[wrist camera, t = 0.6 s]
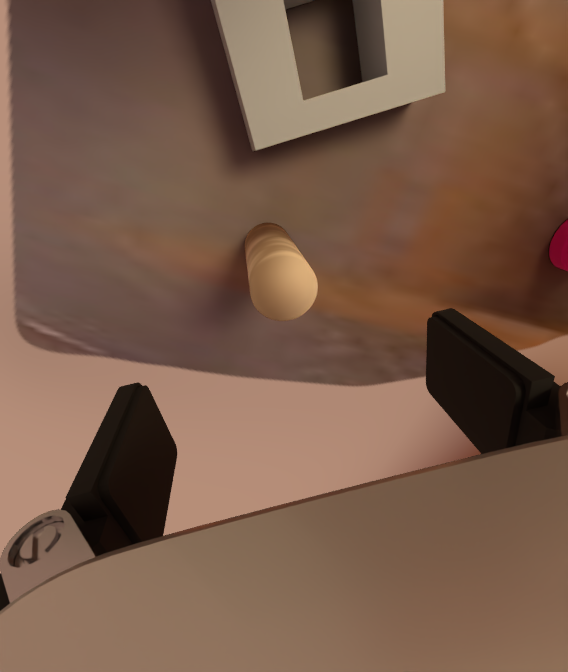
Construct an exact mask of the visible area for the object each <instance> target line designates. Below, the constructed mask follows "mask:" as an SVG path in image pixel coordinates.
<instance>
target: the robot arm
mask: <svg viewBox="0 0 568 672" xmlns="http://www.w3.org/2000/svg"><path fill="white" fill-rule="evenodd" d="M554 377H555V376H554V375H552V374H551V373H549V372H548V371H546V370H545V369H543V368H542V367H540V366H538V365H537V364H536V363H534V362H533V361H531V360H530V359H528V358H526V357H525V356H524V355H522V354H521V353H519V352H518V351H516V350H515V349H513V348H512V347H510V346H509V345H507V344H506V343H504V342H503V341H501V340H500V339H498V338H497V337H495V336H494V335H492V334H491V333H489V332H488V331H486V330H485V329H483V328H482V327H480V326H479V325H477V324H476V323H474V322H473V321H471V320H470V319H468V318H467V317H465V316H464V315H462V314H461V313H459V312H458V311H456V310H455V309H452V308H450V309H446V310H442V311H437V312H434V313H433V314H432V317H431V318H429V319H428V322H427V359H426V386H427V389H428V391H429V393H430V394H431V395H432V396H433V398H434V399H435V400H436V401H437V402H438V403H439V405H440V406H441V407H442V408H443V409H444V410H445V412H446V413H447V414H448V415H449V416H450V417H451V419H452V420H453V421H454V422H455V423H456V425H457V426H458V427H459V428H460V429H461V430H462V431H463V432H464V434H465V435H466V436H467V437H468V438H469V440H470V441H471V442H472V443H473V444H474V446H475V447H476V448H477V449H478V450H479V451H480V452H481V454H480V455H476V456H472V457H468V458H464V459H460V460H456V461H452V462H448V463H444V464H440V465H436V466H432V467H428V468H424V469H420V470H416V471H412V472H408V473H404V474H400V475H395V476H392V477H388V478H384V479H380V480H376V481H372V482H368V483H364V484H360V485H356V486H352V487H348V488H345V489H340V490H336V491H332V492H329V493H325V494H321V495H317V496H313V497H309V498H305V499H302V500H298V501H293V502H290V503H286V504H282V505H278V506H274V507H270V508H266V509H263V510H259V511H255V512H251V513H248V514H243V515H240V516H236V517H232V518H228V519H225V520H220V521H217V522H213V523H209V524H205V525H202V526H197V527H194V528H190V529H187V530H183V531H179V532H176V533H172V534H169V535H165V536H163V533H164V527H165V521H166V516H167V510H168V504H169V498H170V492H171V487H172V482H173V476H174V469H175V465H176V459H177V448H176V444H175V442H174V440H173V438H172V436H171V434H170V432H169V430H168V427H167V425H166V423H165V421H164V419H163V417H162V415H161V413H160V411H159V409H158V407H157V405H156V403H155V400H154V399H153V396H152V394H151V392H150V390H149V388H148V387H147V386H142V385H141V384H140V383H134V384H130V385H125V386H121V387H119V389H118V390H117V393H116V395H115V397H114V399H113V401H112V403H111V405H110V407H109V409H108V411H107V413H106V416H105V417H104V419H103V421H102V423H101V426H100V428H99V430H98V432H97V434H96V436H95V438H94V440H93V442H92V444H91V446H90V448H89V450H88V452H87V455H86V457H85V459H84V461H83V463H82V465H81V467H80V469H79V471H78V473H77V475H76V477H75V479H74V481H73V483H72V486H71V487H70V490H69V492H68V494H67V496H66V500H65V502H64V504H63V506H62V508H61V510H59V509H58V510H53V511H49V512H47V513H44V514H41V515H39V516H38V517H36V518H34V519H33V520H31V521H30V522H28V523H27V524H26V525H25V526H23V527H22V528H21V529H20V530H19V531H18V532H17V533H16V534H15V535H14V536H13V537H12V538H11V540H10V541H9V543H8V544H7V546H6V547H5V549H4V550H3V552H2V555H1V558H0V571H1V574H0V672H568V382H567V383H564V384H563V385H562V386H559V385H558V384H556V383H555V382H554Z"/></svg>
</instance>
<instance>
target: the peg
mask: <svg viewBox="0 0 568 672" xmlns="http://www.w3.org/2000/svg"><path fill="white" fill-rule="evenodd" d="M245 254H246V262H247V270H248V279H249V287H250V295H251V299H252V302H253V304H254V306H255V307H256V309H257V310H258V311H259V312H260V313H261V314H262V315H264V316H265V317H267V318H270V319H272V320H277V321H288V320H292V319H295V318H298V317H299V316H301V315H303V314H304V313H305V312H307V311H308V310H309V308H310V307H311V306H312V304H313V303H314V301H315V298H316V295H317V290H318V284H317V279H316V276H315V274H314V272H313V270H312V269H311V267H310V266H309V264H308V263H307V261H306V260H305V259H304V257H303V256H302V254H301V253H300V251H299V250H298V248H297V247H296V246H295V244H294V243H293V241H292V240H291V238H290V237H289V235H288V234H287V233H286V231H285V230H284V229H283V228H282V227H280V226H279V225H277V224H274V223H262V224H259V225H257V226H255V227H254V228H253V229H252V230H251V231H250V232H249V233H248V235H247V237H246V240H245Z"/></svg>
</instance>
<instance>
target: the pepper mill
mask: <svg viewBox="0 0 568 672" xmlns="http://www.w3.org/2000/svg"><path fill="white" fill-rule="evenodd" d="M549 257H550V260H551V262H552V263H553V265H554V266H556V267H557V268H560V269H563V270H566V271H568V219H567V220H566V221H565V222H564V223H563V224H562V225H561V226H560V227H559V229H558V230H557V231H556V232H555V234H554V236H553V238H552V240H551V243H550V248H549Z"/></svg>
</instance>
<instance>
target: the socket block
mask: <svg viewBox="0 0 568 672" xmlns="http://www.w3.org/2000/svg"><path fill="white" fill-rule="evenodd" d="M311 1H314V0H211V3H212V7H213V10H214V14H215V18H216V21H217V25H218V29H219V32H220V36H221V39H222V43H223V47H224V50H225V54H226V58H227V61H228V65H229V68H230V72H231V76H232V79H233V83H234V87H235V90H236V94H237V97H238V101H239V105H240V108H241V112H242V116H243V119H244V123H245V126H246V130H247V134H248V137H249V141H250V145H251V148H252V151H256V150H259V149H262V148H266V147H269V146H272V145H275V144H279V143H282V142H285V141H288V140H292V139H295V138H298V137H301V136H304V135H308V134H311V133H314V132H317V131H321V130H324V129H327V128H330V127H334V126H337V125H340V124H343V123H347V122H350V121H353V120H356V119H359V118H363V117H366V116H369V115H372V114H376V113H379V112H382V111H385V110H389V109H392V108H395V107H398V106H402V105H405V104H408V103H411V102H415V101H418V100H421V99H424V98H427V97H431V96H434V95H437V94H440V93H444V92H445V60H444V17H443V0H352V1H353V9H354V17H355V26H356V34H357V42H358V50H359V58H360V67H361V75H362V83H359V84H356V85H353V86H349V87H346V88H343V89H340V90H336V91H333V92H330V93H327V94H324V95H320V96H317V97H314V98H311V99H307V100H304V101H303V97H302V92H301V87H300V82H299V77H298V72H297V67H296V62H295V57H294V52H293V47H292V42H291V36H290V31H289V26H288V21H287V16H286V11H285V9H288V8H292V7H295V6H298V5H301V4H304V3H308V2H311Z"/></svg>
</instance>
